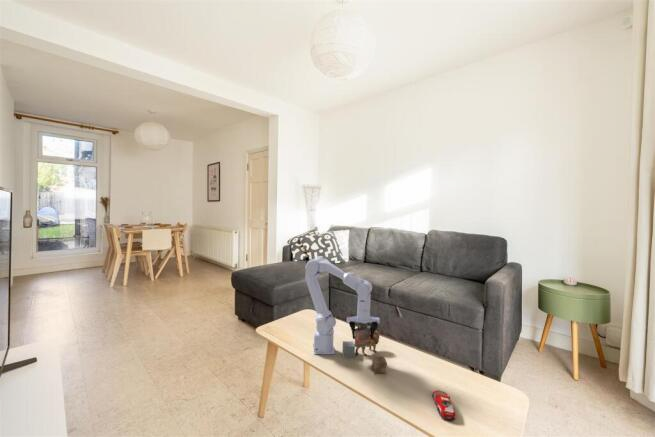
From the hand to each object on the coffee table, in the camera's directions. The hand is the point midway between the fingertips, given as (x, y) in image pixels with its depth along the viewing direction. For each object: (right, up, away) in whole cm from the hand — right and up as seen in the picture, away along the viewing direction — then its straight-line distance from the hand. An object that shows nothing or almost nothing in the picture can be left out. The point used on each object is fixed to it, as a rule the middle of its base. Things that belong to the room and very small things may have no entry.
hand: (362, 338), depth 128 cm
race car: (+25, -13, -28) cm, 40 cm away
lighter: (0, -3, 0) cm, 3 cm away
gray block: (-6, -10, +5) cm, 12 cm away
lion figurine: (+3, -10, +8) cm, 13 cm away
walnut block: (+6, -11, -8) cm, 14 cm away
